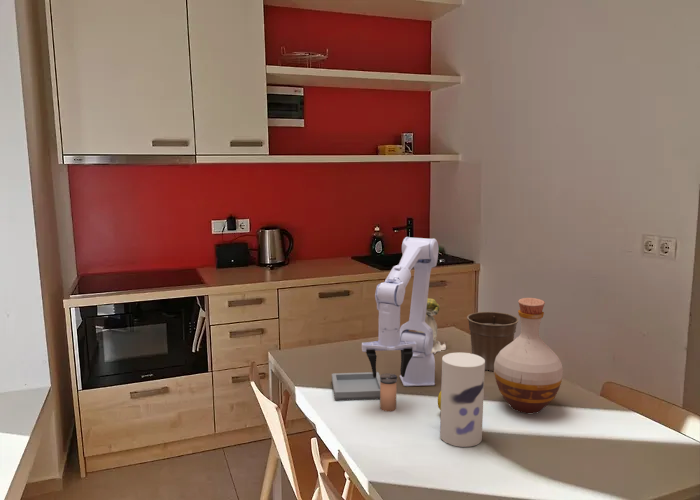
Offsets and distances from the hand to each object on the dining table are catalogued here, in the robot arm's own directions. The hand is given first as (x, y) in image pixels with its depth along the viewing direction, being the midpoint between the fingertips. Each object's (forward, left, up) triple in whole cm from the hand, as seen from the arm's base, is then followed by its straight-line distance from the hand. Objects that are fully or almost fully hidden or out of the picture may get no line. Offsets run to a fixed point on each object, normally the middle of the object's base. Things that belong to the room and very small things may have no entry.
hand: (388, 375), depth 152 cm
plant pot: (-39, -30, -9) cm, 50 cm away
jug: (-38, +2, -9) cm, 39 cm away
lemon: (-15, +6, -9) cm, 19 cm away
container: (-15, +18, -9) cm, 25 cm away
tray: (+7, -13, -9) cm, 17 cm away
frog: (-22, -48, -10) cm, 54 cm away
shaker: (0, 0, -9) cm, 9 cm away
